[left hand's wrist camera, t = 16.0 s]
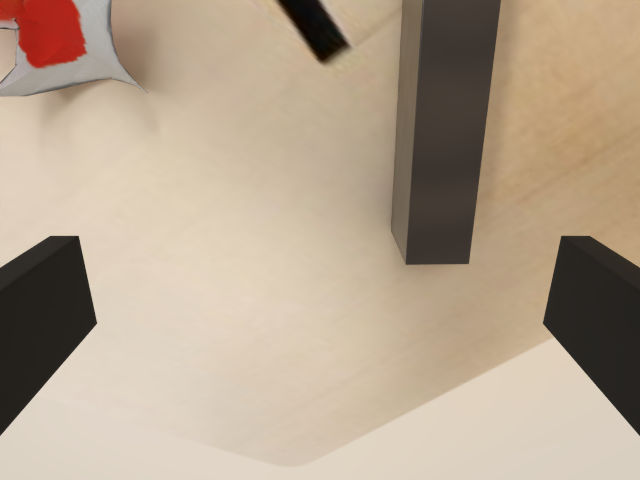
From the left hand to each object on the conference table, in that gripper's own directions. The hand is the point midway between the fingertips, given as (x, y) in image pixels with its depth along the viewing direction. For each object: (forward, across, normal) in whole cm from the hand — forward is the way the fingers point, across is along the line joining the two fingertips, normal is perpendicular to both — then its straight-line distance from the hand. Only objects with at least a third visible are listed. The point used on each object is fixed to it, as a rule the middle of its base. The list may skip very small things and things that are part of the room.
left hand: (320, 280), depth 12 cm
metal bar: (+25, +8, +6) cm, 27 cm away
